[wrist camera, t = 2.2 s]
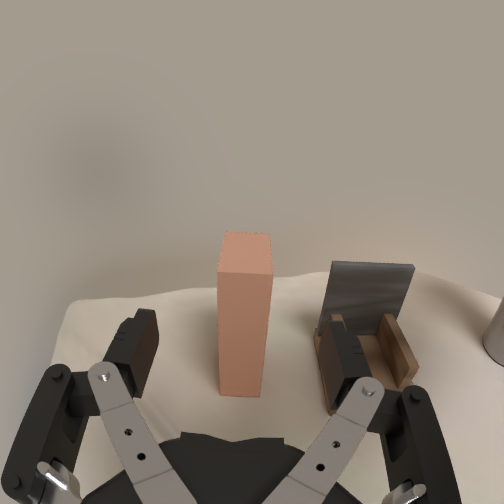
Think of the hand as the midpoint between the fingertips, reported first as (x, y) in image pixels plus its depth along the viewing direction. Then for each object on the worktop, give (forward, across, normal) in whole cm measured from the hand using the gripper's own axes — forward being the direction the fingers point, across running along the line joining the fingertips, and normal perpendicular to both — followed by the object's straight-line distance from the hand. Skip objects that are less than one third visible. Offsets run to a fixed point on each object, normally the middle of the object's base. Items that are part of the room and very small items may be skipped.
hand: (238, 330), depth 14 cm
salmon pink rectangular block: (+12, 0, +16) cm, 20 cm away
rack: (+12, -14, +16) cm, 25 cm away
